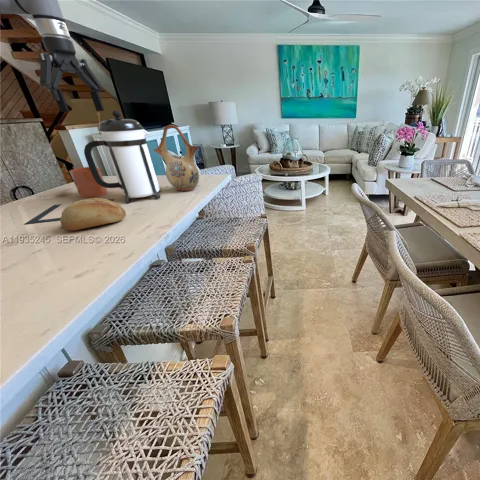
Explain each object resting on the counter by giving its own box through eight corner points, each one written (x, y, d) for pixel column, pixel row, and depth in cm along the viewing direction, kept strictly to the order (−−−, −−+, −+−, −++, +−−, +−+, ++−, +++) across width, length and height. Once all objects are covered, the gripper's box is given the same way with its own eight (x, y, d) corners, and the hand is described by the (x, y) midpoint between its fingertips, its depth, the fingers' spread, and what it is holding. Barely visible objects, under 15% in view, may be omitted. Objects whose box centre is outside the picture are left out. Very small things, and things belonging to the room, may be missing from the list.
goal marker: (24, 224, 79) (24, 223, 79) (54, 205, 94) (53, 204, 94) (96, 216, 84) (96, 215, 84) (113, 199, 99) (113, 198, 99)
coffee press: (145, 189, 110) (119, 110, 96) (174, 193, 105) (151, 109, 91) (102, 202, 96) (64, 111, 82) (133, 207, 91) (99, 111, 77)
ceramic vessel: (209, 186, 114) (196, 123, 103) (204, 192, 107) (190, 124, 95) (169, 188, 112) (152, 124, 101) (161, 194, 104) (141, 125, 93)
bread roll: (128, 224, 78) (119, 198, 74) (62, 238, 70) (48, 210, 67) (127, 214, 85) (118, 190, 81) (66, 226, 77) (53, 200, 74)
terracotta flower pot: (76, 199, 100) (64, 172, 95) (85, 192, 107) (75, 167, 103) (104, 196, 103) (93, 170, 98) (111, 190, 110) (101, 166, 105)
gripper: (22, 27, 74) (57, 112, 83) (100, 45, 96) (121, 110, 105) (0, 29, 75) (37, 112, 84) (82, 46, 97) (104, 110, 106)
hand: (84, 111), depth 95 cm, fingers open, 13 cm apart
